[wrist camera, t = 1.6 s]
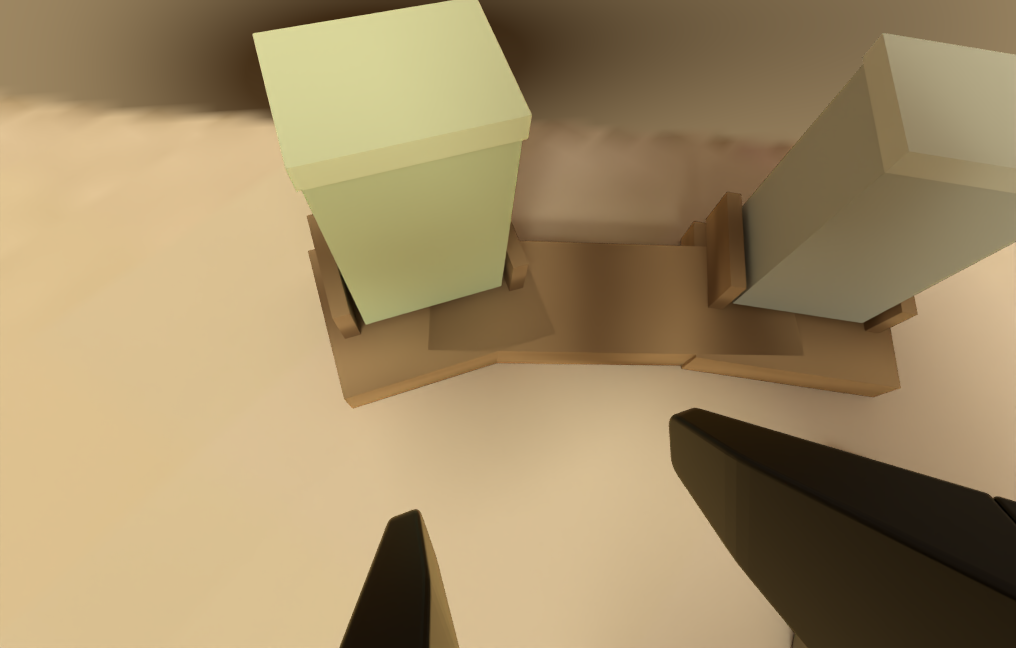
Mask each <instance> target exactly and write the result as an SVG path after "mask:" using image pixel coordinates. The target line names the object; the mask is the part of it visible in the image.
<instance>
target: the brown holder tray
mask: <svg viewBox="0 0 1016 648" xmlns="http://www.w3.org/2000/svg"><path fill="white" fill-rule="evenodd" d="M307 219H308V223H309V227H310V231H311V235H312V239H313V243H314V247H315V249H314V250H310V251H308V253H309V257H310V261H311V265H312V269H313V273H314V277H315V282H316V286H317V290H318V294H319V298H320V302H321V306H322V310H323V314H324V318H325V322H326V326H327V331H328V335H329V339H330V343H331V347H332V351H333V355H334V359H335V363H336V367H337V371H338V375H339V379H340V384H341V388H342V392H343V396H344V399H345V400H346V402H347V403H348V404H349V405H350V406H351V407H352V408H356V407H359V406H362V405H365V404H368V403H371V402H375V401H378V400H381V399H384V398H387V397H390V396H394V395H397V394H400V393H403V392H406V391H409V390H413V389H416V388H419V387H422V386H425V385H428V384H432V383H435V382H438V381H441V380H444V379H447V378H451V377H454V376H457V375H460V374H463V373H466V372H470V371H473V370H476V369H479V368H482V367H485V366H489V365H492V364H495V363H532V364H607V365H681V369H687V370H694V371H701V372H708V373H714V374H721V375H728V376H735V377H741V378H748V379H755V380H761V381H768V382H775V383H782V384H788V385H795V386H802V387H809V388H815V389H822V390H829V391H835V392H842V393H849V394H856V395H862V396H869V397H875V396H878V395H881V394H884V393H887V392H890V391H893V390H896V389H899V388H901V387H900V381H899V376H898V370H897V364H896V358H895V353H894V347H893V341H892V335H891V330H890V328H891V327H893V326H895V325H897V324H899V323H901V322H903V321H905V320H907V319H909V318H911V317H913V316H915V315H917V309H916V304H915V299H914V296H912V297H911V298H909V299H907V300H905V301H903V302H901V303H899V304H897V305H895V306H894V307H892V308H890V309H888V310H886V311H884V312H882V313H880V314H878V315H877V316H875V317H873V318H871V319H869V320H867V321H865V322H863V323H859V322H852V321H845V320H839V319H832V318H826V317H819V316H812V315H806V314H799V313H793V312H786V311H780V310H773V309H766V308H760V307H753V306H747V305H740V304H733V300H734V299H735V298H736V297H737V296H739V295H740V294H741V293H742V292H743V291H744V290H745V289H747V287H746V270H745V252H744V235H743V218H742V201H741V194H737V193H730V192H726V194H725V195H724V196H723V198H722V199H721V200H720V202H719V203H718V204H717V206H716V207H715V208H714V209H713V211H712V212H711V213H710V215H709V216H708V217H707V219H706V223H702V222H696V221H694V222H693V223H692V225H691V226H690V228H689V229H688V230H687V232H686V233H685V234H684V236H683V237H682V238H681V246H671V245H640V244H608V243H577V242H545V241H519V239H518V237H517V234H516V232H515V230H514V227H513V225H512V222H511V223H510V230H509V236H508V243H507V250H506V257H505V264H504V271H503V278H502V284H501V286H500V287H496V288H493V289H489V290H486V291H482V292H479V293H475V294H472V295H468V296H465V297H461V298H458V299H454V300H451V301H447V302H444V303H440V304H437V305H433V306H430V307H426V308H423V309H419V310H415V311H412V312H408V313H405V314H401V315H398V316H394V317H391V318H387V319H384V320H380V321H377V322H373V323H370V324H365V322H364V320H363V318H362V316H361V314H360V312H359V310H358V307H357V305H356V303H355V301H354V299H353V297H352V295H351V293H350V291H349V289H348V286H347V284H346V282H345V280H344V278H343V276H342V274H341V272H340V270H339V268H338V266H337V263H336V261H335V259H334V257H333V255H332V253H331V251H330V249H329V247H328V245H327V242H326V240H325V238H324V236H323V234H322V232H321V230H320V228H319V226H318V224H317V221H316V219H315V217H314V215H313V214H312V215H308V216H307Z"/></svg>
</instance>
